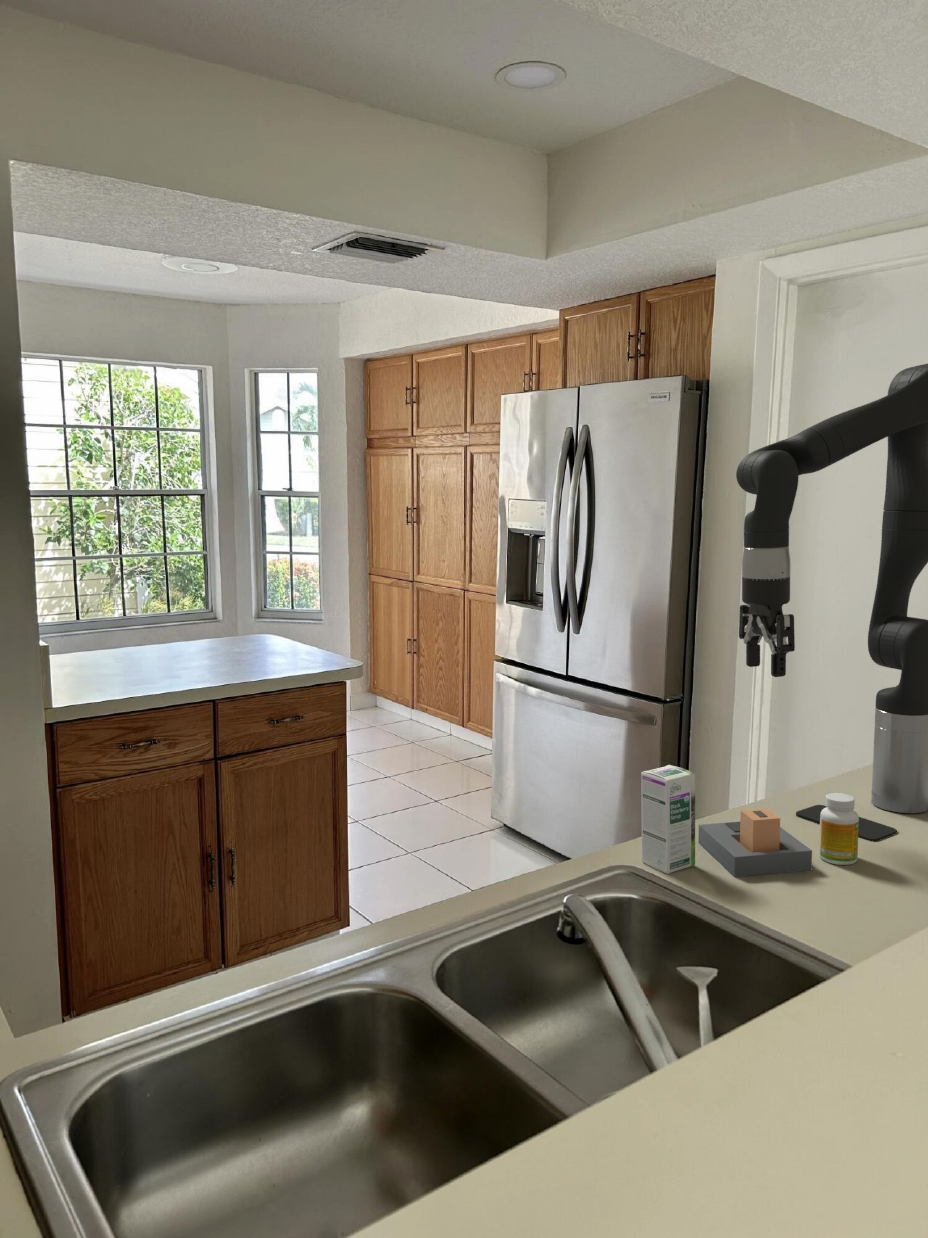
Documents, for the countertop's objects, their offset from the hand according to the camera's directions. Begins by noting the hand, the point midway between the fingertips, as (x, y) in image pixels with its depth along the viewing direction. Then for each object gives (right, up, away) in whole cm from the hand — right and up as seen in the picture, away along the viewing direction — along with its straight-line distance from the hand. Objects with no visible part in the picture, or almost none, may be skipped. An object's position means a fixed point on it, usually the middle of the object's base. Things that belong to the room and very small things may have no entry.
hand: (765, 671), depth 152 cm
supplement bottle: (+6, -28, -14) cm, 32 cm away
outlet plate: (-6, -28, -12) cm, 31 cm away
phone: (+13, -26, 0) cm, 29 cm away
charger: (-6, -28, -14) cm, 31 cm away
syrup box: (-19, -28, -14) cm, 37 cm away
